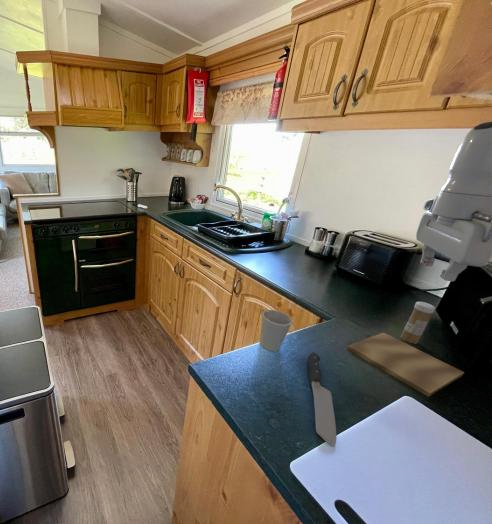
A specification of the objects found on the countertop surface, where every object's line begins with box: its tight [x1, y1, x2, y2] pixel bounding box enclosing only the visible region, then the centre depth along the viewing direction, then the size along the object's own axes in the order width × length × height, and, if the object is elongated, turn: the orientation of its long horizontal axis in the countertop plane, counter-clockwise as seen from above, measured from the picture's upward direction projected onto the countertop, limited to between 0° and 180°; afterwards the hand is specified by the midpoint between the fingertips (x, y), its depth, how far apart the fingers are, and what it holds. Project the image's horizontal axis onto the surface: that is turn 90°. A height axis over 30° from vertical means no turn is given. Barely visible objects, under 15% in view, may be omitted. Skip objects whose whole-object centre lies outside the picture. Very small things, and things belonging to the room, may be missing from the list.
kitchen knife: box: [306, 351, 337, 448], centre depth 70 cm, size 29×3×5 cm
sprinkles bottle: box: [400, 301, 436, 345], centre depth 93 cm, size 5×5×13 cm
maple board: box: [346, 332, 465, 398], centre depth 84 cm, size 20×20×1 cm
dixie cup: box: [259, 309, 294, 352], centre depth 86 cm, size 8×8×10 cm
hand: (435, 272), depth 63 cm, fingers open, 8 cm apart
